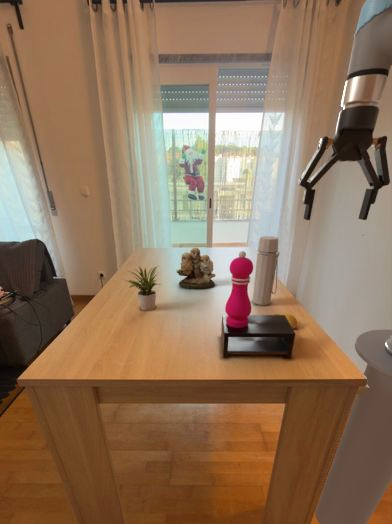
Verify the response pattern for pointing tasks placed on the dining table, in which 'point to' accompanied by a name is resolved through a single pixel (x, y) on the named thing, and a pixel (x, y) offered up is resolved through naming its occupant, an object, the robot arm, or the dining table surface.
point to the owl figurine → (196, 270)
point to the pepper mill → (239, 292)
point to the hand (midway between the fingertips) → (334, 219)
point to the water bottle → (265, 270)
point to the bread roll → (290, 319)
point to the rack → (259, 336)
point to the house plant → (145, 288)
